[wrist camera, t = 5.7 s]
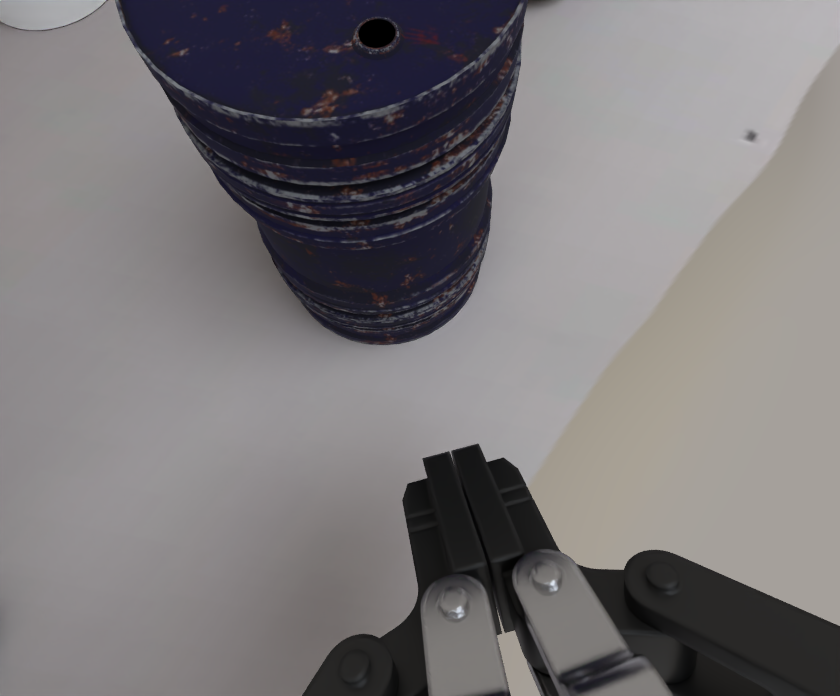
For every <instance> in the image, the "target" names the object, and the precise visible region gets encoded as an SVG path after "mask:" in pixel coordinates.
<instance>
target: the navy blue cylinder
mask: <svg viewBox="0 0 840 696" xmlns="http://www.w3.org/2000/svg"><path fill="white" fill-rule="evenodd" d="M115 2H116V6H117V9H118V12H119V15H120V19H121V22H122V25H123V27H124V29H125V31H126V33H127V34H128V36H129V38H130V40H131V41H132V43H133V45H134V47H135V49H136V50H137V52H138V53H139V55H140V56H141V58H142V59H143V61H144V62H145V64H146V65H147V67H148V68H149V70H150V71H151V73H152V75H153V76H154V77H155V79H156V80H157V81H158V82H159V83H160V85H161V86H162V88H163V90H164V92H165V93H166V95H167V97H168V99H169V100H170V102H171V104H172V105H173V107H174V109H175V112H176V115H177V117H178V119H179V120H180V122H181V124H182V126H183V128H184V129H185V131H186V133H187V135H188V136H189V138H190V139H191V140H192V142H193V144H194V145H195V147H196V148H197V150H198V151H199V153H200V154H201V156H202V157H203V159H204V160H205V161H206V162H207V163H208V165H209V166H210V167H211V169H212V171H213V173H214V174H215V176H216V178H217V180H218V181H219V183H220V185H221V186H222V187H223V188H224V189H225V190H226V192H227V193H228V194H229V195H230V196H231V198H232V199H233V200H234V201H235V202H236V203H238V204H239V205H240V206H241V207H242V208H243V209H244V210H245V211H246V212H247V213H249V214H250V215H251V216H252V217H253V218H255V220H256V221H257V225H258V229H259V231H260V234H261V237H262V240H263V242H264V244H265V246H266V248H267V249H268V251H269V253H270V254H271V257H272V260H273V262H274V264H275V266H276V268H277V269H278V271H279V273H280V274H281V276H282V278H283V279H284V281H285V282H286V284H287V285H288V287H289V288H290V289H291V290H292V291H293V293H294V294H295V295H296V296H297V297H298V298H299V299H300V300H301V302H302V304H303V305H304V307H305V308H306V309H307V310H308V311H309V313H310V314H311V315H312V316H313V317H314V318H315V319H316V320H317V321H318V322H319V323H321V324H322V325H323V326H324V327H326V328H327V329H329V330H331V331H332V332H334V333H336V334H337V335H339V336H342V337H345V338H347V339H350V340H352V341H357V342H361V343H365V344H376V345H389V344H400V343H404V342H408V341H412V340H416V339H418V338H421V337H423V336H426V335H428V334H430V333H432V332H433V331H435V330H437V329H439V328H440V327H442V326H443V325H444V324H446V323H447V322H448V321H449V320H451V319H452V318H453V317H454V316H455V315H456V314H457V313H458V312H459V310H460V309H461V308H462V307H463V306H464V305H465V303H466V301H467V300H468V298H469V297H470V295H471V294H472V291H473V289H474V286H475V284H476V282H477V279H478V274H479V270H480V265H481V262H482V260H483V257H484V254H485V250H486V245H487V241H488V236H489V230H490V219H491V208H492V187H491V179H490V175H491V174H492V172H493V169H494V167H495V165H496V163H497V161H498V158H499V156H500V154H501V152H502V149H503V147H504V145H505V142H506V139H507V134H508V130H509V126H510V121H511V109H512V105H513V101H514V96H515V92H516V86H517V81H518V76H519V70H520V65H521V39H522V33H523V28H524V16H525V12H526V8H527V4H528V0H115Z"/></svg>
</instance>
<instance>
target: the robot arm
mask: <svg viewBox="0 0 840 696" xmlns="http://www.w3.org/2000/svg"><path fill="white" fill-rule="evenodd" d="M451 453H452V458H453V461H452V458H451V455H450V452H449V451H448V452H445V453H441V454H437V455H433V456H430V457H426V458H422V459H423V462H424V466H425V470H426V474H427V479H423V480H420V481H416V482H412V483H409V484H407V488H406V491H405V494H404V497H403V500H402V501H403V506H404V512H405V517H406V523H407V528H408V533H409V539H410V544H411V550H412V555H413V561H414V566H415V571H416V577H417V582H418V597H417V602H416V604H415V607H414V608H413V610H412V612H411V613H410V615H409V616H408V617H407V619H406V620H405V621H403V622H402V623H401V624H400V625H399V626H397V627H396V628H395V629H393V630H392V631H390V632H388V633H387V634H385V635H384V636H382V637H381V638H378V637H376V636H373V635H369V634H358V635H354V636H351V637H349V638H347V639H345V640H343V641H341V642H340V643H339V644H338V645H336V646H335V647H334V648H333V649H332V651H331V652H330V653H329V655H328V656H327V657H326V659H325V661H324V662H323V664H322V665H321V667H320V668H319V670H318V671H317V673H316V675H315V676H314V678H313V679H312V681H311V682H310V684H309V685H308V687H307V689H306V690H305V692H304V693H303V695H302V696H511V695H510V691H509V687H508V682H507V678H506V673H505V669H504V665H503V661H502V656H501V652H500V647H499V643H498V638H497V635H499V634H502V631H501V627H500V622H499V617H498V613H499V616H500V619H501V622H502V626H503V628H504V631H505V633H507V632H510V631H514V630H515V632H516V635H517V637H518V640H519V643H520V646H521V649H522V652H523V654H524V656H525V658H526V659H527V664H528V667H529V669H530V671H531V674H532V676H533V678H534V681H535V683H536V685H537V688H538V690H539V692H540V694H541V696H840V626H838V625H836V624H833V623H831V622H829V621H827V620H824V619H821V618H819V617H817V616H815V615H813V614H811V613H808V612H806V611H804V610H801V609H799V608H797V607H795V606H792V605H790V604H788V603H786V602H783V601H781V600H779V599H776V598H774V597H772V596H770V595H767V594H765V593H763V592H760V591H758V590H756V589H753V588H751V587H749V586H746V585H744V584H742V583H740V582H738V581H735V580H733V579H731V578H728V577H726V576H724V575H722V574H719V573H717V572H715V571H712V570H710V569H708V568H705V567H703V566H701V565H699V564H696V563H694V562H692V561H689V560H687V559H685V558H683V557H680V556H678V555H676V554H673V553H670V552H666V551H661V550H648V551H643V552H640V553H638V554H636V555H634V556H633V557H632V558H631V559H629V561H628V562H627V564H626V566H625V568H624V570H607V569H605V570H604V569H591V568H586V567H583V566H580V565H578V564H576V563H575V562H574V561H573V560H572V559H571V558H570V557H569V556H567V555H565V554H564V553H562V552H561V551H560V550H559V549H558V547H557V545H556V543H555V541H554V539H553V537H552V535H551V533H550V531H549V529H548V528H547V525H546V523H545V521H544V519H543V517H542V515H541V514H540V511H539V510H538V507H537V505H536V504H535V501H534V500H533V498H532V496H531V494H530V492H529V490H528V488H527V487H526V484H525V482H524V480H523V478H522V476H521V474H520V472H519V470H518V468H516V467H515V466H514V465H512V464H511V463H510V462H509V461H507V460H506V459H505V458H501V459H497V460H493V461H490V462H486V460H485V457H484V455H483V453H482V450H481V448H480V446H479V444H475V445H471V446H467V447H463V448H460V449H456V450H452V451H451ZM453 462H454V464H453ZM496 607H497V608H496ZM497 610H498V613H497Z"/></svg>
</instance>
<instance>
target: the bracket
mask: <svg viewBox="0 0 840 696" xmlns="http://www.w3.org/2000/svg"><path fill="white" fill-rule="evenodd" d="M105 1H106V0H0V21H1V22H2V23H4V24H6V25H9V26H11V27H15V28H19V29H24V30H47V29H53V28H58V27H62V26H65V25H68V24H71V23H73V22H76V21H78V20H80V19H82V18H84V17H86V16H87V15H89V14H91V13H92V12H94V11H95V10H96V9H98V8H99V7H100V6H101V5H102V4H103V3H104V2H105Z"/></svg>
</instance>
